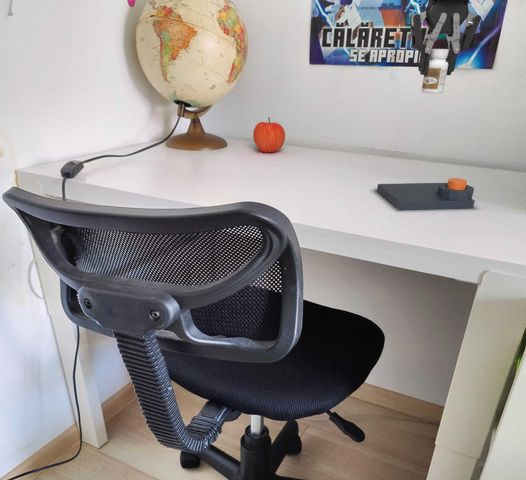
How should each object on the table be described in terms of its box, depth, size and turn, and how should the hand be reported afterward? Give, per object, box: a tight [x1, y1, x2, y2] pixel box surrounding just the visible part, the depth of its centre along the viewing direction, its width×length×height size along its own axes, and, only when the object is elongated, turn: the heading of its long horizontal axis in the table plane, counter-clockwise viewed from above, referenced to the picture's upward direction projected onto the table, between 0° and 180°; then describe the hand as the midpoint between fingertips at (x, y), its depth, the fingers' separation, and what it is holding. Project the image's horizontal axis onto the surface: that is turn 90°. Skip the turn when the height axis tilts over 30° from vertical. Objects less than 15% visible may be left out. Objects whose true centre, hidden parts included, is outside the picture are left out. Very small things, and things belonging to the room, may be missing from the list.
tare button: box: [447, 177, 468, 190], centre depth 89 cm, size 3×3×2 cm
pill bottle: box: [421, 48, 449, 95], centre depth 101 cm, size 4×4×8 cm
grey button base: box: [376, 182, 476, 211], centre depth 92 cm, size 14×12×3 cm
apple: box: [252, 117, 286, 153], centre depth 123 cm, size 8×8×8 cm
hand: (435, 74), depth 101 cm, fingers closed on pill bottle, 4 cm apart
